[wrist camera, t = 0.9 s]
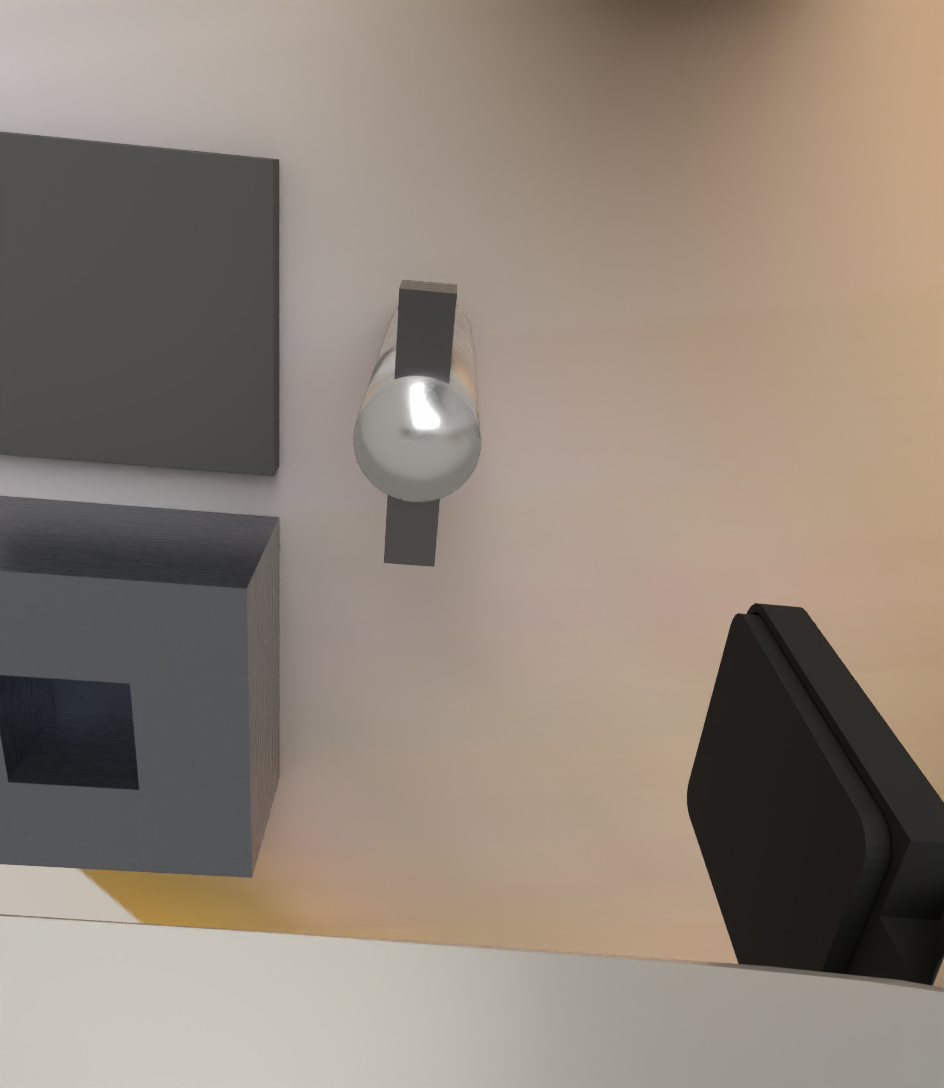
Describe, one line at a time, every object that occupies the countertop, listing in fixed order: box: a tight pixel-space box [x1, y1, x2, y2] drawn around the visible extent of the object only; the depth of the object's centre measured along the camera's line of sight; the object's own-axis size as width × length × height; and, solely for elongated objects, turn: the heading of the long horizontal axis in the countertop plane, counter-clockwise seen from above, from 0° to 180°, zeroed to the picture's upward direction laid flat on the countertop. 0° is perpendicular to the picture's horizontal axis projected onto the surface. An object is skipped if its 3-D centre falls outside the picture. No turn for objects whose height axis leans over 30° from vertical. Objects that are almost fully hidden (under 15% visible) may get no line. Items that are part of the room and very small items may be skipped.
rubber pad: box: [0, 132, 279, 476], centre depth 28 cm, size 10×10×1 cm
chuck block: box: [0, 496, 279, 878], centre depth 31 cm, size 12×12×6 cm
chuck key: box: [353, 280, 481, 566], centre depth 24 cm, size 3×6×11 cm, turn 175°
